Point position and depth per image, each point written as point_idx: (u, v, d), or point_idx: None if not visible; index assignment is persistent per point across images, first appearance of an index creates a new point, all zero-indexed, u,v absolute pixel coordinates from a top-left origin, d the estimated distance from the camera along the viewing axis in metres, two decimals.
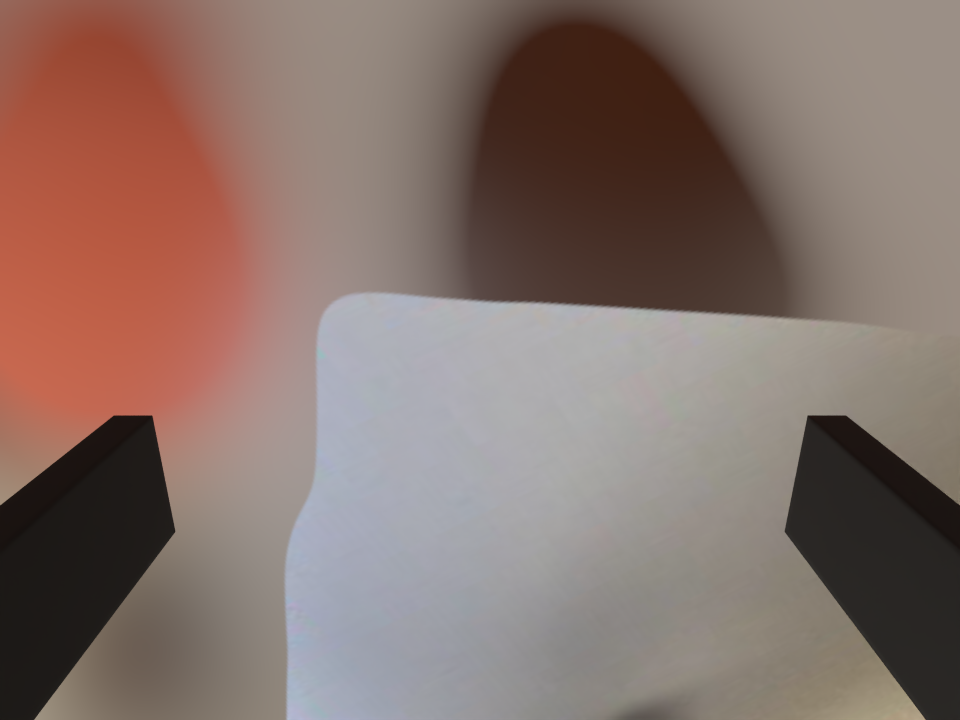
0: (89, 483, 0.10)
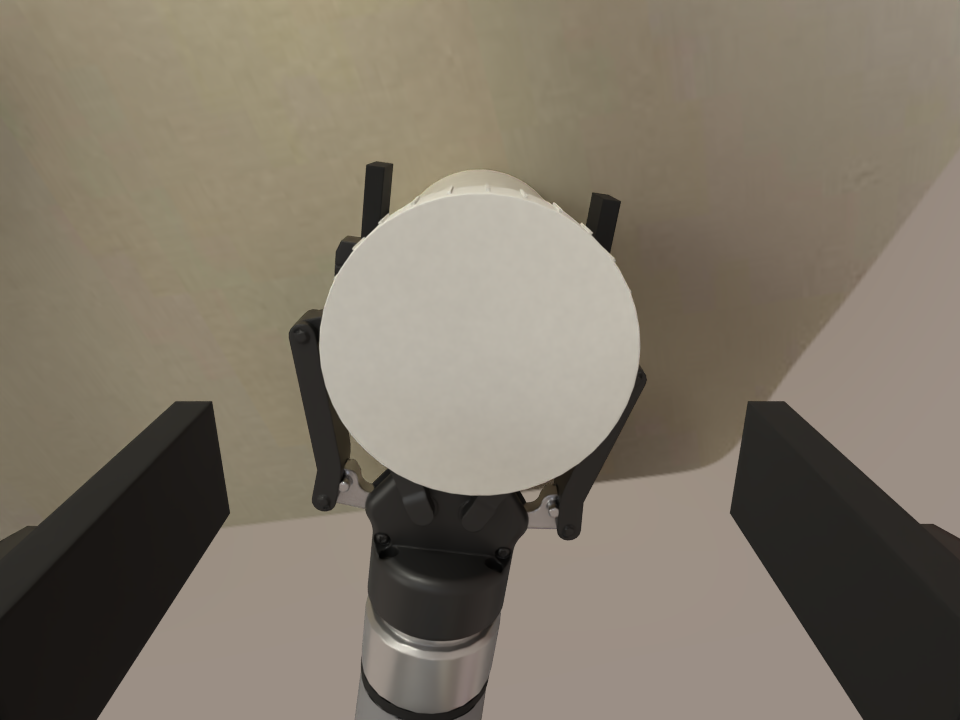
0: (163, 462, 0.11)
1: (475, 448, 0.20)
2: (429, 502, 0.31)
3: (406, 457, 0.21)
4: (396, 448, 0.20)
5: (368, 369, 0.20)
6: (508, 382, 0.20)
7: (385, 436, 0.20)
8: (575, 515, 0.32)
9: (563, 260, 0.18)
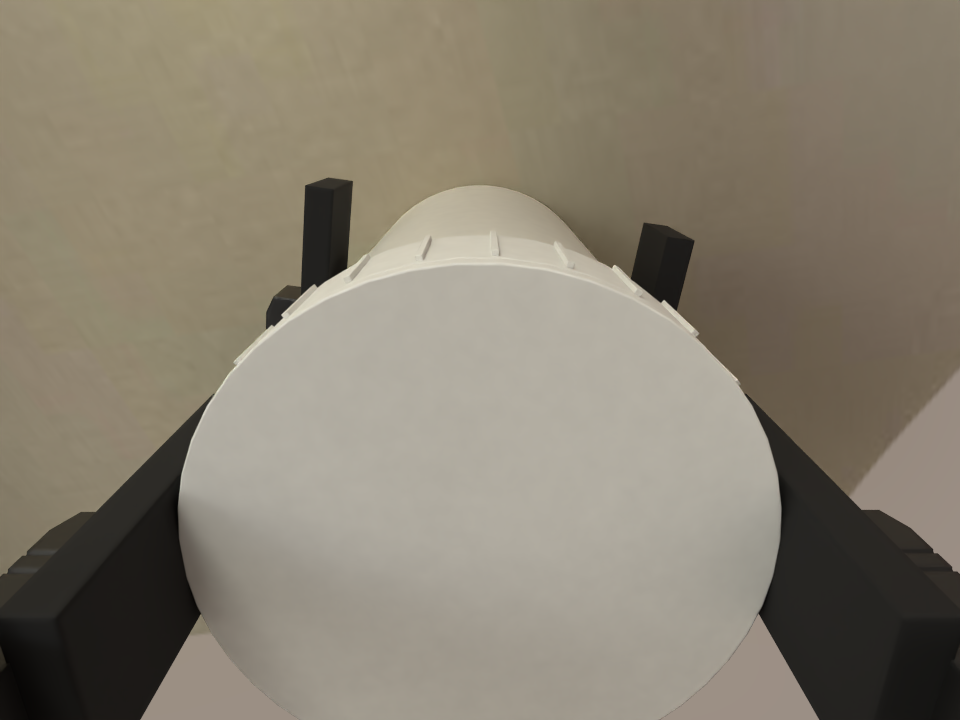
0: None
1: (471, 701, 0.11)
2: None
3: (349, 714, 0.12)
4: (330, 701, 0.11)
5: (273, 577, 0.11)
6: (532, 598, 0.11)
7: (310, 682, 0.11)
8: None
9: (644, 390, 0.09)
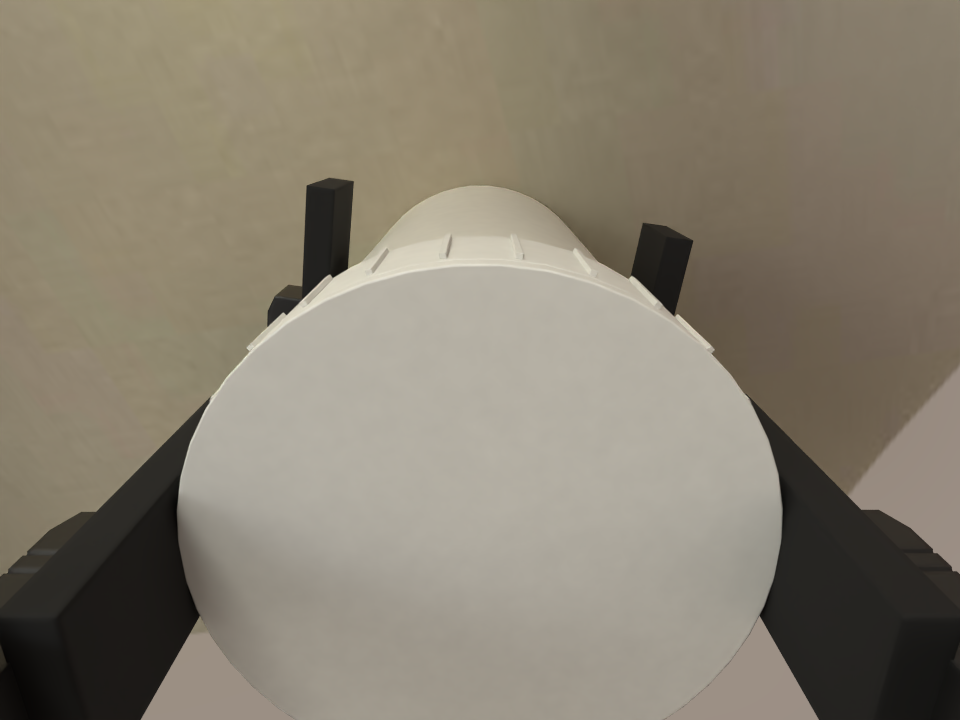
0: None
1: (632, 640, 0.11)
2: None
3: None
4: None
5: (403, 705, 0.11)
6: (550, 541, 0.10)
7: None
8: None
9: (381, 353, 0.09)
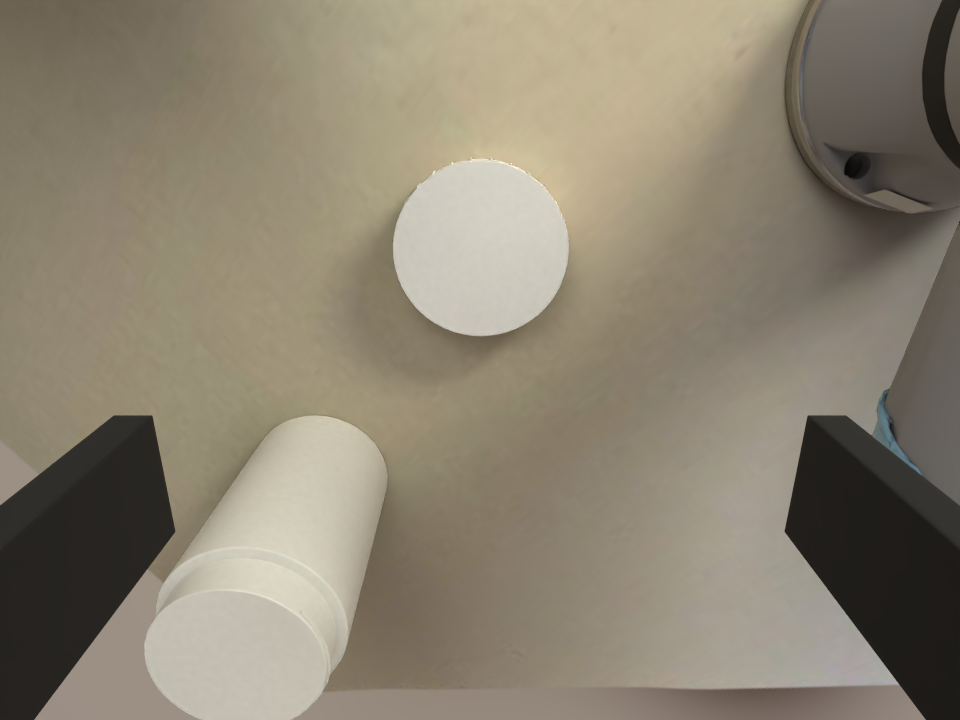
0: (90, 483, 0.10)
1: (527, 282, 0.36)
2: None
3: (511, 318, 0.37)
4: (504, 319, 0.37)
5: (456, 307, 0.36)
6: (501, 246, 0.35)
7: (494, 320, 0.37)
8: None
9: (454, 186, 0.34)
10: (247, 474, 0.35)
